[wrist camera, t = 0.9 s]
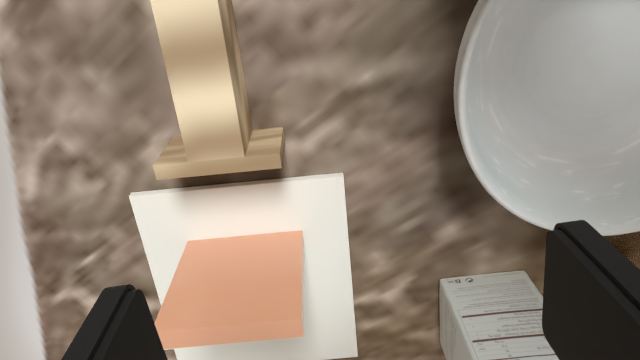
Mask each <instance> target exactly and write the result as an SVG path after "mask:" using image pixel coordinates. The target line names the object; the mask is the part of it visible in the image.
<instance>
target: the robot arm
mask: <svg viewBox="0 0 640 360" xmlns="http://www.w3.org/2000/svg"><path fill="white" fill-rule="evenodd" d="M542 329H543V333H544V336H545V338H546V340H547V342H548V343H549V345H550V346H551V348H552V349H553V351H554V353H555V354H556V356H557V357H558V359H559V360H640V270H639V269H638V268H637V267H636V266H635V265H634V264H633V263H632V262H630V261H629V260H628V259H627V258H626V257H625V256H624V255H623V254H622V253H621V252H620V251H618V250H617V249H616V248H615V247H614V246H613V245H612V244H611V243H610V242H609V241H607V240H606V239H605V238H604V237H603V236H602V235H601V234H600V233H599V232H598V231H597V230H595V229H594V228H593V227H592V226H591V225H590V224H589V223H588V222H586V221H585V220H577V221H570V222H563V223H557V224H556V225H555V227H554V230H552V231H549V232H548V233H547V239H546V257H545V275H544V293H543V311H542ZM62 360H167V357H166V354H165V351H164V349H163V346H162V343H161V340H160V338H159V335H158V332H157V329H156V327H155V324H154V321H153V318H152V316H151V313H150V310H149V307H148V305H147V302H146V299H145V296H144V294H143V292H142V291H141V290H139V289H138V290H135V288H134V287H133V285H130V284H129V285H122V286H115V287H108V288H105V289H104V290H103V291H102V293H101V294H100V296H99V298H98V299H97V301H96V303H95V304H94V306H93V308H92V309H91V311H90V313H89V314H88V316H87V318H86V319H85V321H84V323H83V324H82V326H81V328H80V329H79V331H78V333H77V334H76V336H75V338H74V339H73V341H72V343H71V344H70V346H69V348H68V349H67V351H66V353H65V354H64V356H63V358H62Z"/></svg>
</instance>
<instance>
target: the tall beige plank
mask: <svg viewBox="0 0 640 360" xmlns="http://www.w3.org/2000/svg"><path fill="white" fill-rule="evenodd" d="M150 1H151V5H152V10H153V14H154V18H155V23H156V27H157V31H158V36H159V40H160V44H161V49H162V53H163V57H164V62H165V66H166V71H167V75H168V79H169V84H170V88H171V92H172V97H173V101H174V105H175V110H176V114H177V118H178V123H179V127H180V131H181V136H182V137H176V138H172V139H171V140H170V142H169V143H168V145H167V146H166V148H165V149H164V151H163V152H162V153H161V155H160V156H159V158H158V159H157V161H156V162H155V163H154V165H153V168H154V172H155V176H156V179H157V180H163V179H173V178H184V177H194V176H205V175H215V174H226V173H236V172H247V171H257V170H267V169H278V168H282V161H283V152H284V143H285V138H284V130H283V127H279V128H268V129H258V130H252V124H251V117H250V111H249V105H248V99H247V93H246V87H245V80H244V74H243V68H242V62H241V56H240V50H239V43H238V37H237V31H236V25H235V19H234V13H233V6H232V0H150Z"/></svg>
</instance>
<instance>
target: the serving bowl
mask: <svg viewBox="0 0 640 360" xmlns="http://www.w3.org/2000/svg"><path fill="white" fill-rule="evenodd" d="M454 109H455V119H456V124H457V129H458V133H459V137H460V140H461V144H462V147H463V150H464V153H465V156H466V158H467V160H468V162H469V164H470V166H471V168H472V170H473V172H474V174H475V175H476V177H477V179H478V180H479V182H480V183H481V184H482V186H483V187H484V188H485V190H486V191H487V192H488V193H489V194H490V195H491V196H492V198H494V199H495V200H496V201H497V202H498V203H499V204H500V205H501V206H502V207H504V208H505V209H507V210H508V211H509V212H511V213H512V214H514V215H515V216H517V217H519V218H521V219H522V220H524V221H527V222H529V223H531V224H533V225H536V226H538V227H541V228H544V229H547V230H551V231H552V230H554V227H555V225H556V224H557V223H563V222H570V221H577V220H585V221H586V222H588V223H589V224H590V225H591V226H592V227H593V228H594V229H595V230H597V231H598V232H599V233H600V234H601V235H602V236H610V235H620V234H627V233H633V232H638V231H640V0H478V2H477V4H476V6H475V8H474V10H473V12H472V14H471V17H470V19H469V21H468V23H467V26H466V29H465V32H464V35H463V38H462V41H461V44H460V48H459V52H458V57H457V62H456V68H455V77H454Z"/></svg>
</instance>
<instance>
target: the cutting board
mask: <svg viewBox="0 0 640 360" xmlns="http://www.w3.org/2000/svg"><path fill="white" fill-rule="evenodd" d="M129 199H130V202H131V205H132V209H133V212H134V215H135V219H136V222H137V225H138V229H139V232H140V236H141V239H142V242H143V246H144V249H145V252H146V256H147V259H148V263H149V266H150V269H151V273H152V276H153V279H154V283H155V286H156V290H157V293H158V296H159V300H160V303H161V306H162V304H163V301H164V299H165V296H166V294H167V291H168V289H169V286H170V284H171V281H172V279H173V276H174V274H175V271H176V269H177V266H178V264H179V261H180V259H181V256H182V254H183V251H184V249H185V246H186V244H187V241H191V240H202V239H212V238H223V237H234V236H245V235H255V234H266V233H277V232H288V231H298V230H303V238H304V337H301V338H291V339H280V340H269V341H257V342H246V343H235V344H224V345H213V346H201V347H190V348H179V349H174V350H175V354H176V357H177V360H326V359H337V358H349V357H358V353H357V340H356V328H355V315H354V303H353V290H352V277H351V265H350V252H349V240H348V227H347V215H346V202H345V189H344V177H343V173H333V174H323V175H312V176H302V177H291V178H281V179H270V180H260V181H249V182H239V183H228V184H217V185H207V186H196V187H186V188H175V189H165V190H154V191H144V192H133V193H131V194H130V195H129Z"/></svg>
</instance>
